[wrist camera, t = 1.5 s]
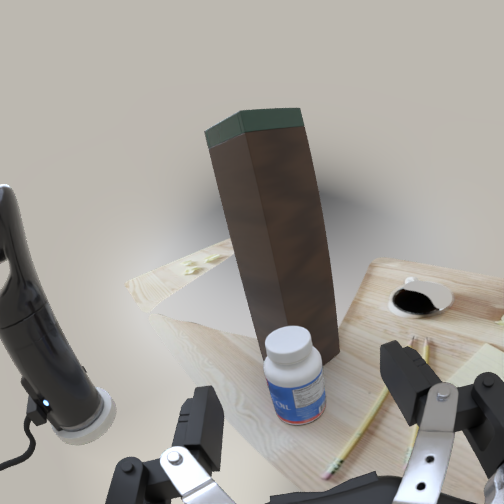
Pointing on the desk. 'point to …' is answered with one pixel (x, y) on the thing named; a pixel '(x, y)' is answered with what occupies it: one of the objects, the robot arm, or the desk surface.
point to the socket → (253, 123)
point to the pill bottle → (294, 375)
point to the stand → (278, 233)
